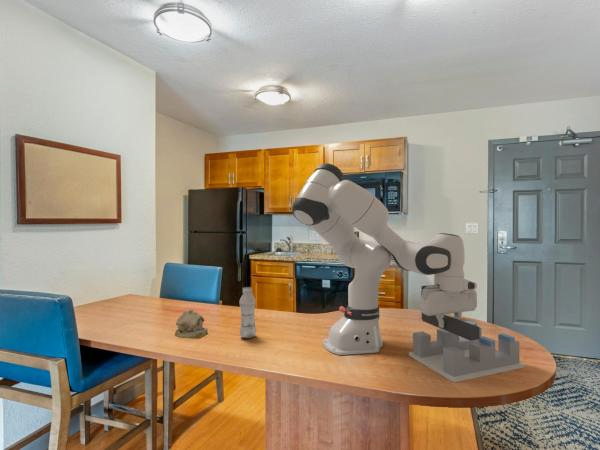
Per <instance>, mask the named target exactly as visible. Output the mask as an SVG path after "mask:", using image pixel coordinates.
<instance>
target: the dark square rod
mask: <svg viewBox="0 0 600 450" xmlns="http://www.w3.org/2000/svg"><path fill="white" fill-rule="evenodd" d="M453 317H454V316H450V315H448V314H444V317H442V318H443V320H444V322H446V327H445V328H441V327H439V321H438V320H437V318H436V315H433V316H428V315H425V314H423V320H422V322H423V323H427V324H429V325H432V326H433V327H435V328H437V329H443V330H446V331H448V332H450V333H453V334H455V335H458V336H459V337H463V338H465V339H467V340H470V341H471V340H478V339H480V327H481V326H479V325H477V326H475V325H472V324H470V323H467V322H464V321H465V320H461V319H459V320H458V319H456V318H453ZM478 326H479V327H478Z"/></svg>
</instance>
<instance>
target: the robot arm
mask: <svg viewBox="0 0 600 450" xmlns="http://www.w3.org/2000/svg"><path fill="white" fill-rule="evenodd" d="M291 212H292V214H293V217H294V218H295V219H296V221H298V222H300V223H301V224H303V225H305V226H310V227H312V229H313V230H314V231H315V232H316V233H317V234H318V235H319V236H320V237H321V238H322V239H324V241H326V242H327V244H329V245H330V247H332V248H333V250H334V252H335V253H336V257H337V259H338V261H339V263H341V264H342V265H345V266H346V267H348V268H352V269H355V273H354V278H353V279H352V281H351V282H350V283H349V284H348V286H347V287H348V288H347V291H348V292H347V296H348V299H347V301H348V305H347V306H346V307H345V306H342V305H341V306H339V309H338V310H339V311H340V313H344V314H343V316H342V317H341V318H339V320H337V321H336V322H335V323H334V324H333V325H331V327H330V328H329V332H328V338H327V337H326V338H324V339H322V345H323V347H324V348H325V350H327V351H328V352H330V353H332V354H333V355H337V356H346V355H347V356H348V355H359V354H361V355H362V354H373V353H375V354H376V353H379V352H380V349H381V348H382V347H383V346H384V343H383V339H382V335H381V329H380V321H379V320H380V306H379V285H380V281H381V279H382V275H383V274H384V272H385V271H386V270H387V269H388V268H389V267H390V266H391V263H392V261H393V260H394V262H395V264H396V265H397V266H398V267H399V268H400V269H402V270H404V271H407V272H413V273H417V274H421V275H425V276H431V275H434V276H433V277H434V278H433V282H434V284H431V285H430V284H426V285H427V286H426V285H425V286H426V287H425V288H424V289H423V290H422V289H421V290H422V297H421V296H420V297H421V299H420V306H419V307H420V308H419V310H420V312H422V313H423V314H425V315H428V316H433V315H436V318H437V320H438V321H439V327H441V328H445V327H446V322H444V320H443V318H442V317H444V315H449V314H453V316H452V317H453V318H456V319H458V320H461V317H462V315H463V314H462V313H465V312H474V311H476V308H477V307H478V294H477V291H476V289H477V287H478V286H477V285H478V284H477V282H475V281H472V280H468V279H466V278H465V273H464V264H465V245H464V241H463V238H462V237H461V236H459V235H457V234H454V233H453V234H452V233H444V232H440V233H437V234H436V235H435V236H434V237H433V238H432V239H429V240H428V241H426V242H423V243H419V242H418V243H417V242H415V241H408V240H406V239H404V238H402V237H401V236H400V235H398V233H397V232H395V231H394V230H393V229H392V228H391V227H389V225H388V222H389V216H390V213H389V210H388V208H387V207H386V205H384V203H383V202H382V201H381V200H380V199H378V197H376V196H374V195H373V194H372V193H371V192H370V191H368V190H367V189H366V188H364V187H362V186H361V185H358V184H357V183H355V182H354V181H351V180H349V179H345V177H344V173H343V172H342V171H341V169H340V168H339V167H338V166H336V165H334V164H331V163H328V162H327V163H326V162H324V163H322V164H320V165H319V166H318V167H316V168H315V169H314V171H313V173H312V174H311V175H310V176H309V177H308V178H307V180H306V181H305V183H303V187H302V188H301V190H300V192H299V193H298V195H297V197H296V198H295V199H294V201H293V204H292V207H291ZM355 228H356V230H359V231H360V232H362V233H363V234H366V235H367V236H369V237H370V238H372V239H374V240H375V241H373V240H363V239H361V238H360V237H359V236H357V235H356V233H355ZM392 259H393V260H392ZM422 313H421V314H422ZM441 328H440V329H441Z"/></svg>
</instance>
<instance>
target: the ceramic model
mask: <svg viewBox="0 0 600 450" xmlns="http://www.w3.org/2000/svg"><path fill="white" fill-rule="evenodd" d="M204 322H205V318H204V317H203V315H201V314H200V313H199V312H196V311H194V310H193V309H189V311H187V310H186V311H183V312H182V314H181V315H179V317H178V318H177V320H176V321H175V326H177V329H176V330H175V331H174V335H175V337H177V338H183V339H184V338H186V339H198V338H202V337H204V336H206V335H207V334H208V328H207V327H204V326H203V325H204Z"/></svg>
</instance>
